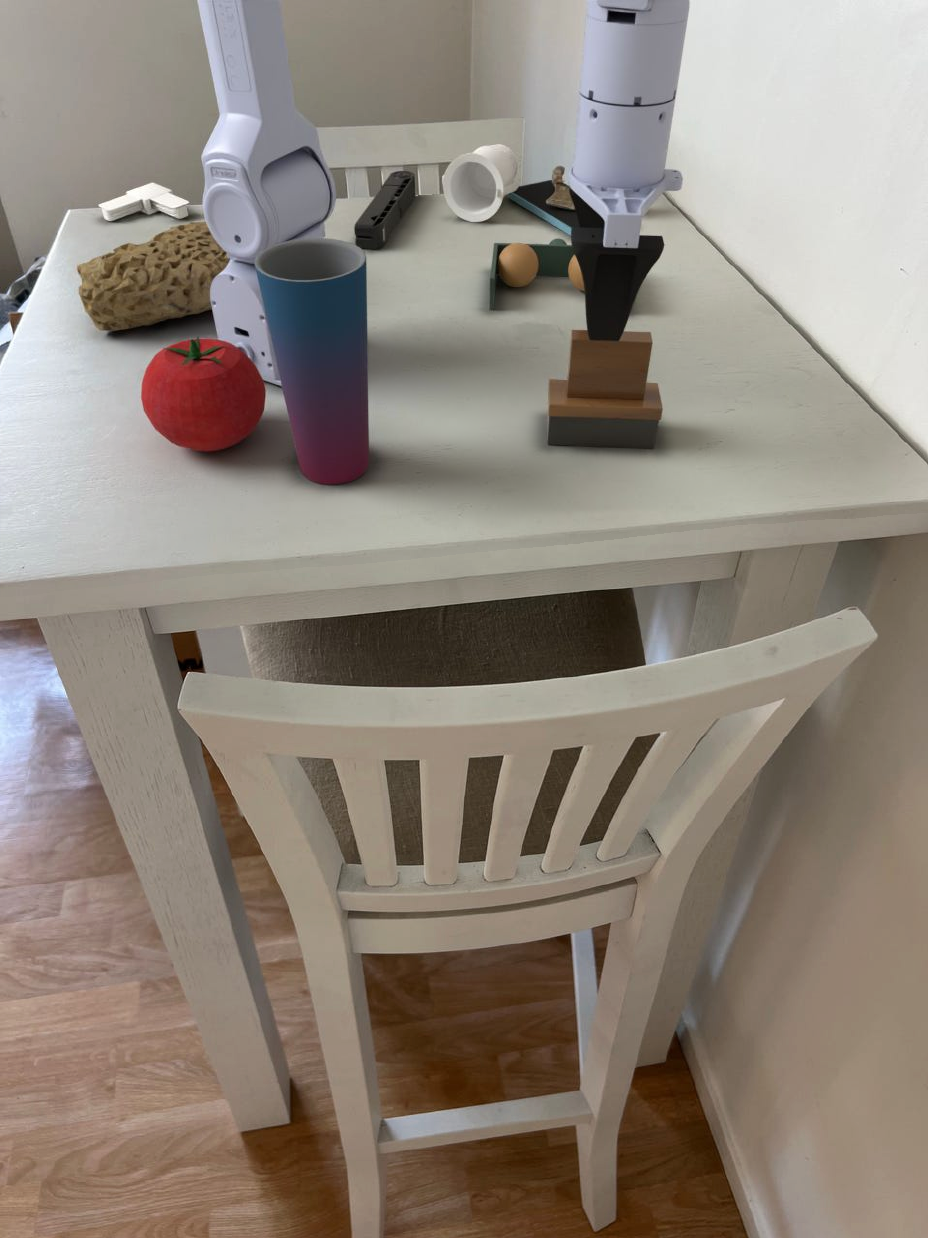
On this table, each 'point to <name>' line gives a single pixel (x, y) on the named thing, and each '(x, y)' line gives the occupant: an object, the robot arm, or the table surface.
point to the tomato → (203, 394)
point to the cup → (321, 351)
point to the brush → (605, 394)
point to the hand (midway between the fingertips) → (601, 313)
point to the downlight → (480, 182)
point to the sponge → (152, 278)
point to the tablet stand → (385, 210)
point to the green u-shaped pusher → (549, 261)
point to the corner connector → (145, 203)
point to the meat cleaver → (560, 191)
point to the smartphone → (545, 205)
